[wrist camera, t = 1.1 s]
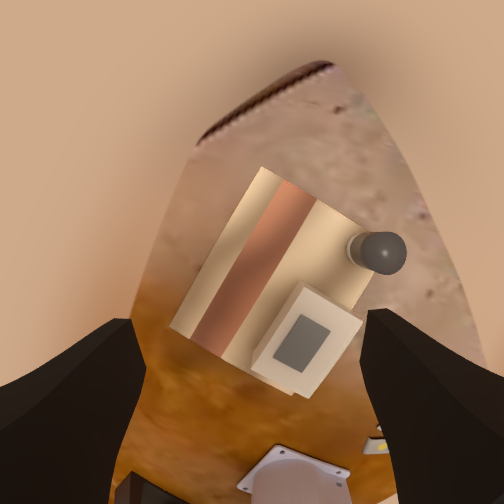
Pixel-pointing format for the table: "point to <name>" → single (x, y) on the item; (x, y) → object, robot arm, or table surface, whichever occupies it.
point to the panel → (267, 269)
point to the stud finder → (305, 340)
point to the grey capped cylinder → (377, 251)
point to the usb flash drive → (375, 446)
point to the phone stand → (143, 492)
